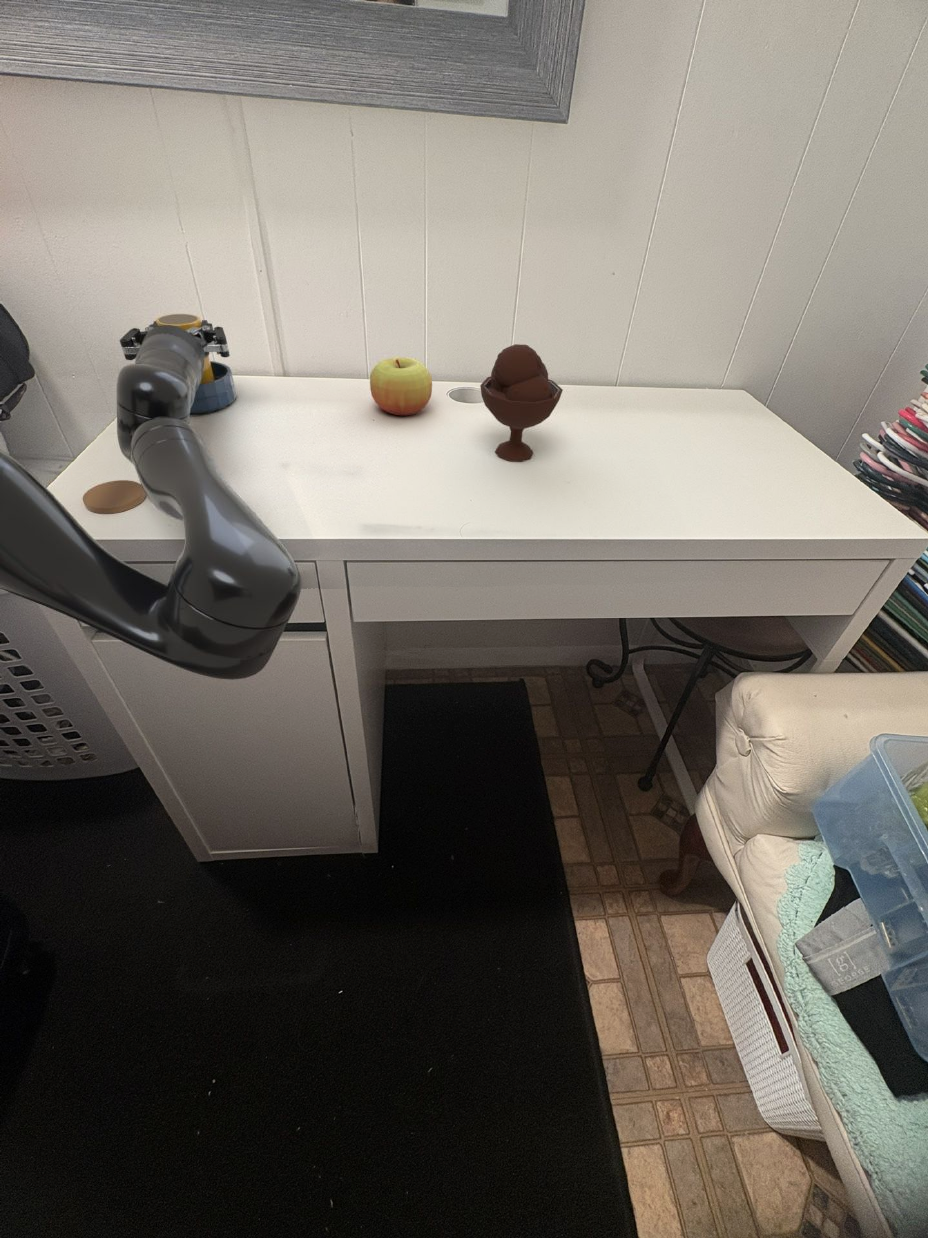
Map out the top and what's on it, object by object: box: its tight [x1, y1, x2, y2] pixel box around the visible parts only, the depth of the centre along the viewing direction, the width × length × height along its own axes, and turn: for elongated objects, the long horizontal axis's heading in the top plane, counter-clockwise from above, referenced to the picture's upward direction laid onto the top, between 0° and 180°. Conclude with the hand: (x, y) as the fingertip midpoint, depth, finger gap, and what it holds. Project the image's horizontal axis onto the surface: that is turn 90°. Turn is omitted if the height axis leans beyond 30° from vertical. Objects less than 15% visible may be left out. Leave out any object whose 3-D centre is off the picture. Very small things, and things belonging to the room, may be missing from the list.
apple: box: [369, 356, 433, 416], centre depth 90 cm, size 10×10×8 cm
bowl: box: [190, 360, 237, 415], centre depth 89 cm, size 11×11×4 cm
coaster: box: [82, 479, 147, 515], centre depth 68 cm, size 7×7×1 cm
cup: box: [155, 313, 215, 384], centre depth 87 cm, size 6×6×11 cm
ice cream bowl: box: [480, 343, 564, 463], centre depth 77 cm, size 11×11×15 cm
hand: (182, 327), depth 86 cm, fingers closed on cup, 6 cm apart
